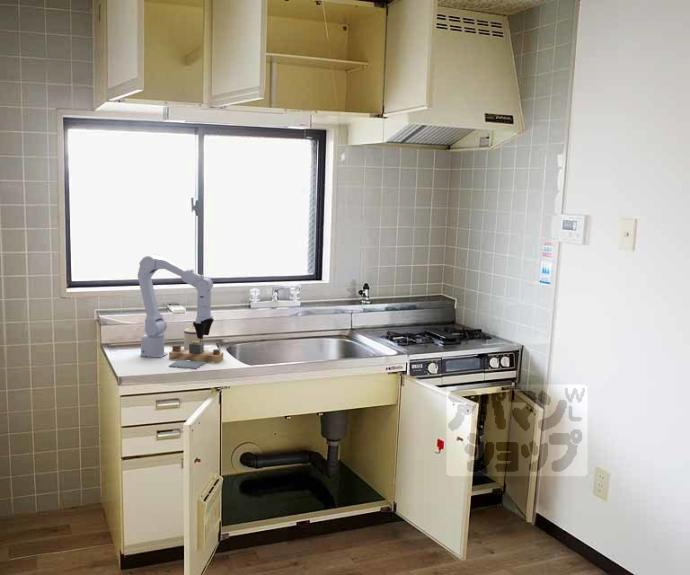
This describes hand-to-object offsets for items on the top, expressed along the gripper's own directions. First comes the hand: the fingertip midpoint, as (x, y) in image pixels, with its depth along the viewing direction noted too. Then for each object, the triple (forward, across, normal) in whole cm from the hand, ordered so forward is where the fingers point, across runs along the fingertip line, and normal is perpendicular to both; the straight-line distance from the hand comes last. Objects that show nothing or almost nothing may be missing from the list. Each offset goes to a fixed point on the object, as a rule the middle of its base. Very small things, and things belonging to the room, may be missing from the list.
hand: (203, 336), depth 311 cm
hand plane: (+10, 0, +3) cm, 10 cm away
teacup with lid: (+10, +19, +11) cm, 24 cm away
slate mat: (+10, -11, +3) cm, 15 cm away
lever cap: (+7, 0, +3) cm, 8 cm away
